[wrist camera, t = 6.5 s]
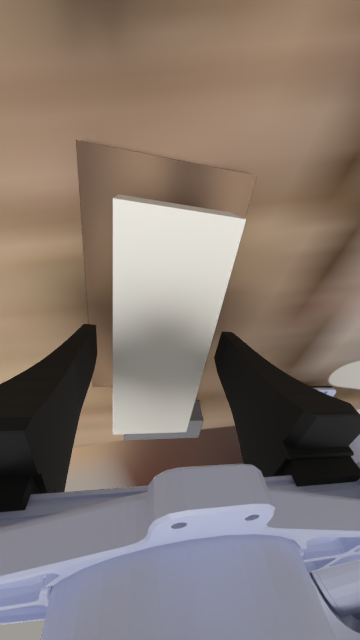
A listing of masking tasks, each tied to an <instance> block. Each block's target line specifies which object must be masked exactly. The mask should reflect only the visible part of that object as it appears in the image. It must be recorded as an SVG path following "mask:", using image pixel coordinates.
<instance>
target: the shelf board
mask: <svg viewBox="0 0 360 640" xmlns="http://www.w3.org/2000/svg"><path fill="white" fill-rule="evenodd" d="M245 222H246V219H244V218H242V217H240V216H237V215H235V214H233V213H230V212H225V211H219V210H212V209H206V208H200V207H194V206H188V205H181V204H175V203H169V202H163V201H157V200H151V199H144V198H138V197H132V196H126V195H120V194H118V195H117V196H115V197H114V198H113V435H114V434H146V433H178V432H186V431H187V428H188V424H189V421H190V417H191V413H192V410H193V406H194V403H195V399H196V396H197V392H198V389H199V385H200V381H201V378H202V374H203V371H204V367H205V364H206V360H207V357H208V353H209V350H210V346H211V342H212V339H213V335H214V332H215V328H216V325H217V321H218V318H219V314H220V310H221V307H222V303H223V300H224V296H225V293H226V289H227V286H228V282H229V278H230V275H231V271H232V268H233V264H234V261H235V257H236V254H237V250H238V247H239V243H240V239H241V236H242V232H243V229H244V225H245Z"/></svg>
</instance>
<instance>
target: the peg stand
mask: <svg viewBox="0 0 360 640" xmlns="http://www.w3.org/2000/svg"><path fill="white" fill-rule="evenodd" d="M76 147H77V162H78V177H79V192H80V207H81V222H82V236H83V251H84V266H85V281H86V296H87V310H88V324H91V325H96V333H97V359H96V364H95V369H94V373H93V376H92V385H93V387H113V198H114V197H115V196H117V195H118V194H120V195H126V196H132V197H138V198H144V199H151V200H157V201H163V202H169V203H175V204H181V205H188V206H194V207H200V208H206V209H212V210H219V211H225V212H230V213H233V214H235V215H237V216H240V217H242V218H244V219H245V217H246V214H247V210H248V206H249V203H250V199H251V196H252V192H253V188H254V185H255V181H256V178H257V176H256V175H251V174H246V173H241V172H235V171H230V170H225V169H220V168H215V167H210V166H205V165H200V164H195V163H190V162H185V161H180V160H174V159H169V158H164V157H159V156H154V155H149V154H144V153H139V152H134V151H129V150H124V149H119V148H114V147H108V146H103V145H98V144H93V143H88V142H83V141H78V140H76Z"/></svg>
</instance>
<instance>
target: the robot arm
mask: <svg viewBox="0 0 360 640" xmlns="http://www.w3.org/2000/svg"><path fill="white" fill-rule="evenodd" d="M96 359H97V333H96V325H91V324H84V325H82V326H81V327H80V328H79V329H78V330H77V331H76V332H75V333H74V334H73V335H72V336H71V337H70V338H69V339H67V340H66V341H65V342H64V343H63V344H62V345H61V346H60V347H58V348H57V349H56V350H55V351H53V352H52V353H51V354H49V355H48V356H47V357H46V358H44V359H43V360H41V361H40V362H38V363H37V364H35V365H34V366H32V367H31V368H29V369H27V370H26V371H24V372H22V373H20V374H19V375H17V376H15V377H13V378H11V379H10V380H8V381H6V382H4V383H2V384H0V625H2V624H11V623H20V622H30V621H39V620H45V621H44V626H43V630H42V634H41V638H40V640H360V414H359V413H358V412H357V411H356V409H355V408H354V407H353V406H352V405H351V404H350V403H347V402H345V401H342V400H340V399H337V398H335V397H333V396H334V395H335V393H336V390H335V389H334V388H312V387H310V386H308V385H306V384H304V383H302V382H300V381H298V380H296V379H295V378H293V377H291V376H289V375H288V374H286V373H284V372H283V371H281V370H280V369H278V368H277V367H275V366H274V365H272V364H271V363H270V362H268V361H267V360H265V359H264V358H263V357H262V356H260V355H259V354H258V353H256V352H255V351H254V350H253V349H252V348H250V347H249V346H248V345H247V344H246V343H244V342H243V341H242V340H241V339H240V338H239V337H237V336H236V335H235V334H233V333H232V332H222V334H221V337H220V340H219V344H218V347H217V350H216V354H215V357H214V359H215V364H216V368H217V373H218V375H219V378H220V381H221V384H222V386H223V389H224V391H225V394H226V397H227V399H228V402H229V405H230V408H231V411H232V414H233V418H234V422H235V426H236V430H237V434H238V439H239V443H240V448H241V453H242V458H243V463H244V464H229V465H214V466H213V465H212V466H196V467H181V468H175V469H170V470H167V471H164V472H162V473H160V474H158V475H156V476H155V478H154V479H153V480H152V481H151V483H150V484H149V486H140V487H127V488H114V489H100V490H87V491H74V492H64V490H65V484H66V479H67V474H68V469H69V463H70V458H71V453H72V448H73V444H74V439H75V434H76V430H77V425H78V421H79V416H80V412H81V409H82V405H83V402H84V399H85V396H86V394H87V391H88V388H89V385H90V382H91V379H92V376H93V373H94V369H95V364H96Z"/></svg>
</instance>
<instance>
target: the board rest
mask: <svg viewBox="0 0 360 640" xmlns="http://www.w3.org/2000/svg"><path fill="white" fill-rule="evenodd" d="M202 424H203V416H202V412H201V408H200V404H199V401H195V403H194V406H193V410H192V413H191V417H190V421H189V424H188V428H187V431H186V432H178V433H146V434H124V440H137V439H138V440H139V439H165V438H193V437H198V436H199V433H200V430H201V427H202Z"/></svg>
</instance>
